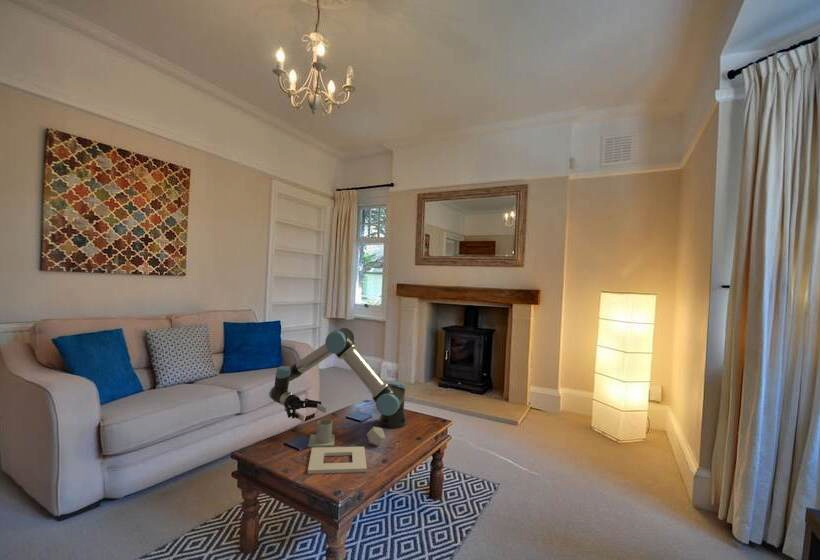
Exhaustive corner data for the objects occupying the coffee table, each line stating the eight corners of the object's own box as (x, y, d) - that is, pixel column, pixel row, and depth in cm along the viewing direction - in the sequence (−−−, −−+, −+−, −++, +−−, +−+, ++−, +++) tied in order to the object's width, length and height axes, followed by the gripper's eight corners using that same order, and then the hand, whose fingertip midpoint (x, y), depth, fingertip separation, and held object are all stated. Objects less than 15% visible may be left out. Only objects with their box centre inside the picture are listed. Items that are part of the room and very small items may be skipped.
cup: (318, 444, 173) (319, 425, 173) (312, 436, 182) (313, 418, 182) (333, 442, 177) (334, 423, 177) (326, 434, 185) (328, 416, 185)
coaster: (334, 435, 186) (334, 434, 186) (334, 446, 174) (334, 444, 174) (310, 436, 184) (310, 434, 184) (308, 446, 172) (308, 445, 172)
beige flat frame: (364, 449, 173) (364, 446, 173) (366, 471, 153) (366, 468, 153) (311, 450, 168) (312, 447, 168) (307, 473, 149) (307, 470, 149)
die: (387, 444, 181) (382, 424, 186) (385, 442, 174) (380, 422, 179) (371, 450, 181) (366, 430, 185) (369, 448, 173) (364, 427, 178)
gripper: (308, 401, 208) (333, 414, 195) (268, 414, 188) (293, 429, 176) (309, 388, 208) (334, 400, 195) (269, 400, 188) (294, 415, 175)
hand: (314, 414), depth 185 cm, fingers open, 13 cm apart
